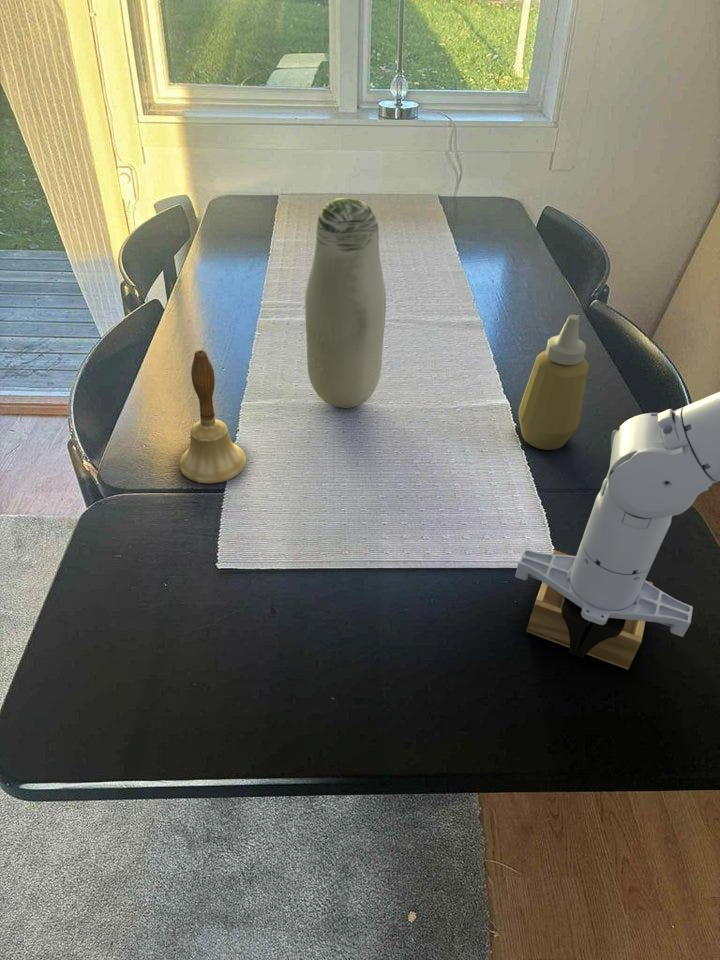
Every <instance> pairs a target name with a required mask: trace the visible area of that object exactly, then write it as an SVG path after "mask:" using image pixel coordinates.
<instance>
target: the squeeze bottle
mask: <svg viewBox="0 0 720 960" xmlns="http://www.w3.org/2000/svg"><path fill="white" fill-rule="evenodd" d="M579 323H580V317H579V316H578V314H577V315H576V314H569V315H568V316H567V319H566V320H565V323H564V324H563V327H562V329H561V331H560V332H559V334H557V335H554V336H551V337H550V338H549V339H548V340H547V344H546V347H545V348H546V349H545V350H543V351H541V352H540V353H539V354H538V355H536V358H535V361H534V363H533V367H532V370H531V372H530V376H529V378H528V381H527V384H526V387H525V390H524V393H523V396H522V399H521V402H520V405H519V407H518V413H517V414H518V421H519V426H520V433H521V436H522V438H523V440H524V441H525V442H526V443H527V444H528V445H529V446H531V447H534V448H536V449H539V450H544V451H554V450H558V449H560V448H562V447H563V446H564V445H565V444H566V443H567V442H568V441H569V439H570V438H571V437H572V435H573V434H574V433H575V432H576V430H577V429H578V428H579V426H580V423H581V417H582V411H583V404H584V398H585V393H586V386H587V381H588V375H589V366H590V365H589V363H588V362H587V360H586V359H585V355H586V351H587V345H586V343H585V342H584V341H583V340H581V339H580V337H579V332H580V331H579V330H580V329H579V328H580V324H579Z"/></svg>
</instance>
